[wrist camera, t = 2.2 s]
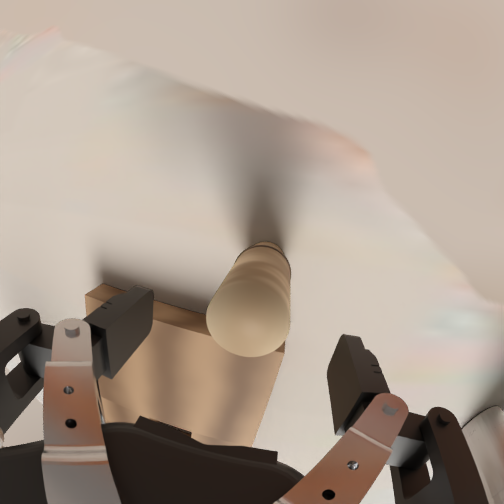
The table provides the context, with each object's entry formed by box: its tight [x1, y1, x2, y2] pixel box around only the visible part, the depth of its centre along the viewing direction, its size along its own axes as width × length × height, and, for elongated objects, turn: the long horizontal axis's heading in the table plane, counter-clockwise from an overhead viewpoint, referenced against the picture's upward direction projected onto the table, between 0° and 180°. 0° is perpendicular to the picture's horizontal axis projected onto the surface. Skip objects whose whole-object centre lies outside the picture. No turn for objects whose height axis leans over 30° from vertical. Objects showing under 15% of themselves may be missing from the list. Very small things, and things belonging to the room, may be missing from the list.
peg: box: [206, 242, 291, 357], centre depth 17 cm, size 4×4×10 cm
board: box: [85, 284, 285, 447], centre depth 25 cm, size 18×22×3 cm
